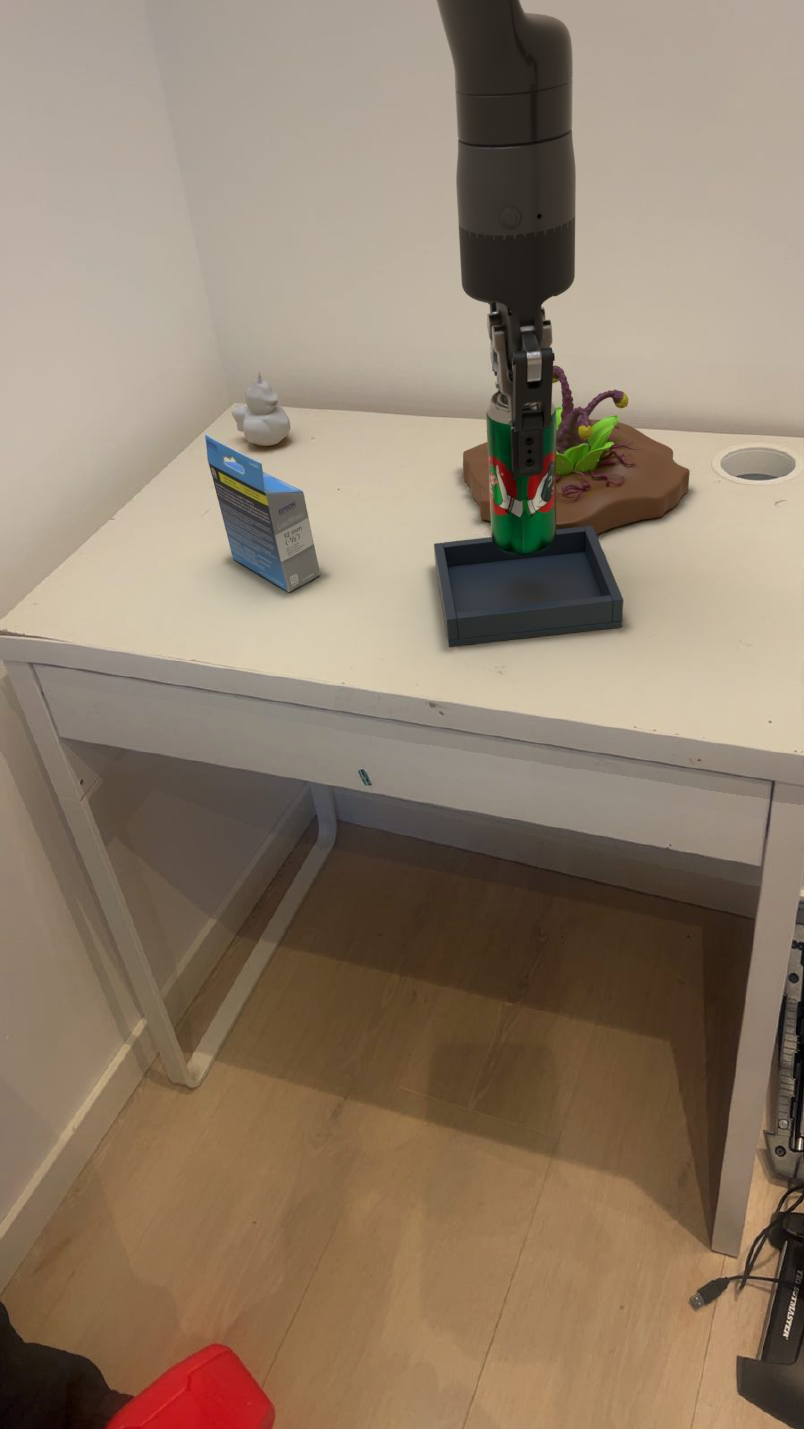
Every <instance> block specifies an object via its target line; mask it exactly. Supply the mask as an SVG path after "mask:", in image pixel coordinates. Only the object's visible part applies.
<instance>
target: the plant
mask: <svg viewBox="0 0 804 1429" xmlns="http://www.w3.org/2000/svg"><path fill="white" fill-rule="evenodd" d="M558 382H559V383H560V388H561V390H560V391H561V392H560V393H561V398H562V399H561V402H562V403H561V406H555V407H556V530H558V529H566V528H575V527H584V526H593V528H594V530H595V533H596V535H597V536H598V535H599V534H601V533H603V532H605V531H608V530H611V529H615V528H617V527H620V526H624V525H628V524H631V523H635V522H638V521H643V520H648V519H649V520H650V519H657V518H660V517H662V516H664V515H665V513H666V512H668V511H669V510H671V509H673V508H675V507H676V506H677V505H678V504H679V503H680V500H681V498H682V496H684V495H685V494H686V493H687V492H688V491H689V484H690V469H689V468H687V467H685V466H682V465H681V464H678V463H677V462H675V459H674V450H673V449H672V448H671V447H670V446H668V445H666V444H664V443H662V442H659V441H657V440H655V439H653V438H651V437H649V436H648V435H646V434H644V433H643V432H641V431H639V430H638V429H637V428H635V427H633V426H631V425H629V424H626V423H623V422H620V416H619V414H617V415H615V414H614V415H610V416H607V417H604V418H601V419H594V418H593V419H592V418H591V419H590V415H591V414H592V413H593V412H594V410H595V409H596V407H597V406H598V405H599V404H600V403H601V402H603V401H604V400H606V399H609V398H611V399H612V401H613V403H614V406H615V407H616V408H618V409H624V408H626V407H627V408H628V405H629V397H628V395H627V394H626V393H625V392H624V391H623V390H618V389H613V390H607V391H604V392H600V393H598V394H597V396H595V397H593V398H592V400H591V401H589V402H588V404H587V406H586V407H582V406H578V407H574V406H575V404H574V403H573V402H574V397H573V396H572V394H573V392H572V390H571V388H570V384H569V382H568V377H567V375H566V374H565V370H564V369H563V368H562V367H560V366H559V365H555V364H554V365H553V382H552V384H556V383H558ZM462 474H463V480H464V482H465V483H466V484H467V485H468V486H469V487H470V493H471V496H472V498H473V499H474V501H475V502H476V503H477V504H478V505H479V516H480V519H481V520H483V521H488V522H491V514H490V491H489V468H488V446H487V441H486V442H483V443H480V444H478V445H476V446H474V447H471V448H469V449H466V450H464V451H463V453H462Z"/></svg>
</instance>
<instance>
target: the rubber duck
mask: <svg viewBox="0 0 804 1429" xmlns="http://www.w3.org/2000/svg"><path fill="white" fill-rule="evenodd" d="M244 395H245V396H244V397H245V404H246V406H245V405H237V406H235V407H233V408H232V410H231V415H232V417H233V419H234V421H235V422H236V428H237V429H236V430H237V431H238V432H242V433H243V435H244V437H245V439H246V441H247V442H248V443H251V444H254V445H257V446H266V447H267V446H275V445H277V444H279V443H280V442H282V441H283V440H284V438H286V436H287V435H288V434H289V432H291V420H290V418H289V416H288V414H287V413H286V410H284V408H283V407H282V406H281V405H279V398H280V397H279V395H278V393H277V392H276V391H275V390H274V389H273V388H272V386H271V385H270V384H269V382H268V381H266V380H265V378H264V377H262V375H261V372H260V371H258V373H257V377H256V380H255V381H253V382H252V383H251V385H250V386H249V387H248V389H247V390H246V392H245V394H244Z"/></svg>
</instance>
